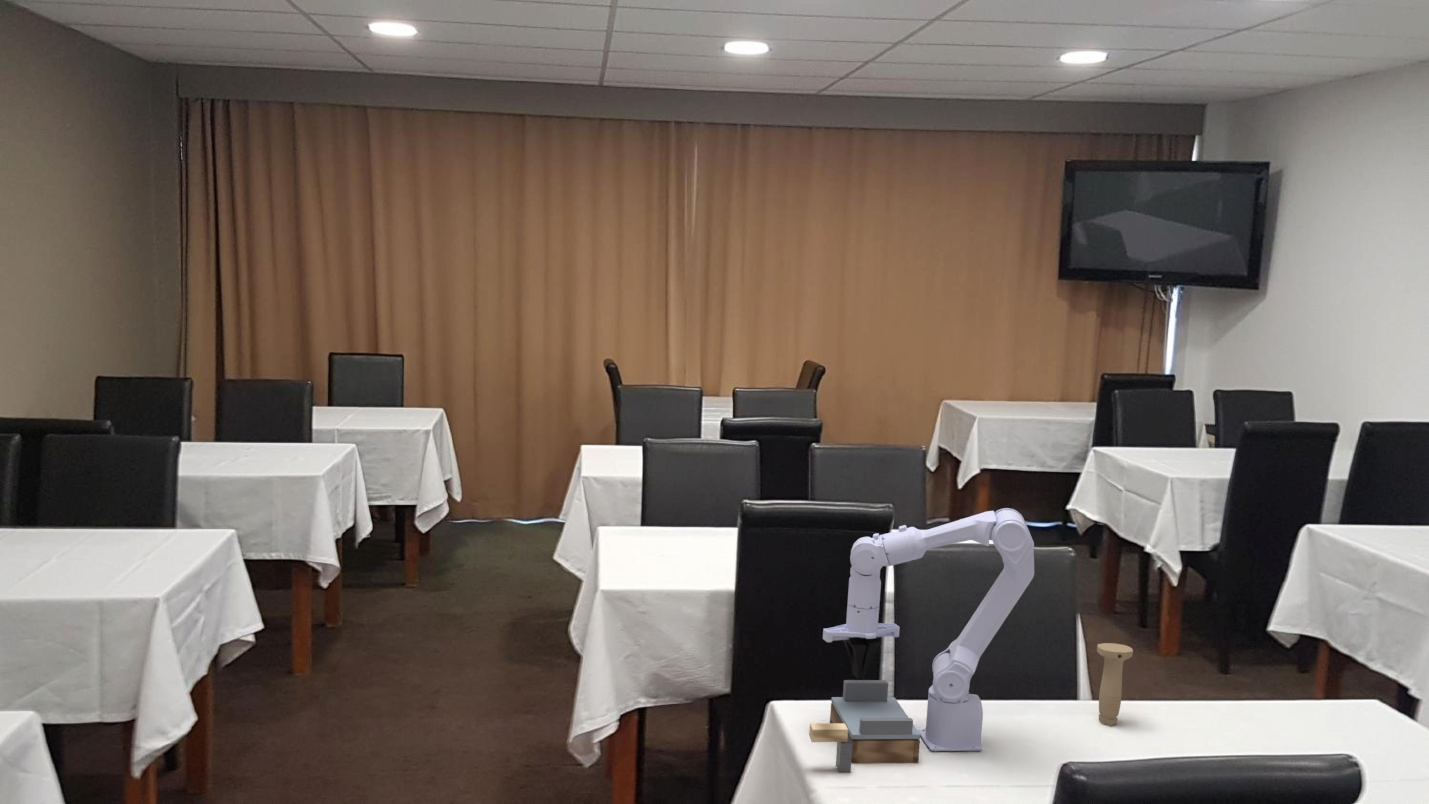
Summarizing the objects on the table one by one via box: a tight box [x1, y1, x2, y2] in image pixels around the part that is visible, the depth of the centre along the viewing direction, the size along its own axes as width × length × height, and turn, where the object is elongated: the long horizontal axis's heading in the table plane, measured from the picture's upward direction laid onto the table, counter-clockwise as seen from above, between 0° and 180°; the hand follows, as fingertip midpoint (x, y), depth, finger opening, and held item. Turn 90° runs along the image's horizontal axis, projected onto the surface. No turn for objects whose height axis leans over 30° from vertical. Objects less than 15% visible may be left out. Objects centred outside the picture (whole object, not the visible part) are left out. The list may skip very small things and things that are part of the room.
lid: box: [830, 679, 921, 740], centre depth 193 cm, size 12×16×4 cm
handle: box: [1096, 642, 1134, 727], centre depth 206 cm, size 5×6×15 cm
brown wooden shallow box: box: [829, 702, 921, 764], centre depth 193 cm, size 12×16×4 cm
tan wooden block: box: [808, 722, 848, 743], centre depth 181 cm, size 6×2×2 cm, turn 97°
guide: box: [835, 737, 853, 774], centre depth 182 cm, size 2×2×5 cm
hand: (858, 676), depth 197 cm, fingers closed
